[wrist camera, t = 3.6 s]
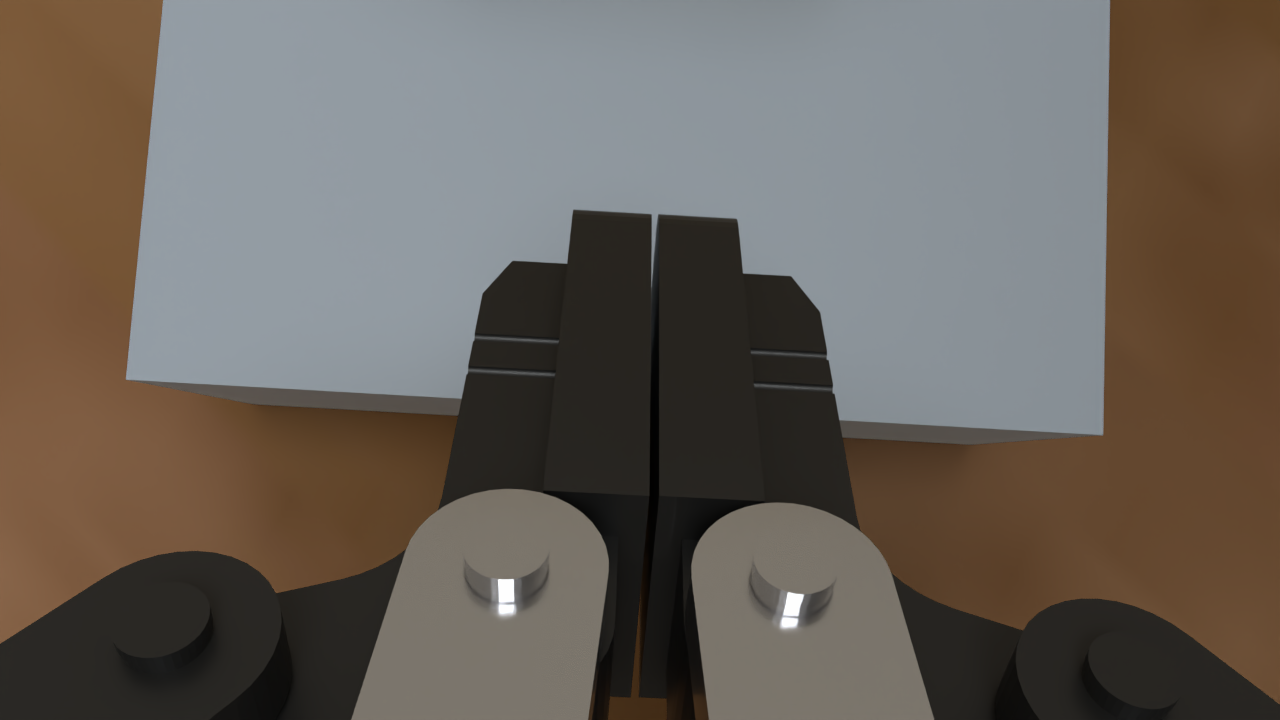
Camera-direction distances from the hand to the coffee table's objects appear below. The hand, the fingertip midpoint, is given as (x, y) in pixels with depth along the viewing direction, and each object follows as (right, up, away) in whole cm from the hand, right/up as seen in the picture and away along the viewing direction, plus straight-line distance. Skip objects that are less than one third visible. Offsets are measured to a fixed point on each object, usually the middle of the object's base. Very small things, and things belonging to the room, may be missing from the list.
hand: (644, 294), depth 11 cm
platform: (0, +5, +12) cm, 13 cm away
